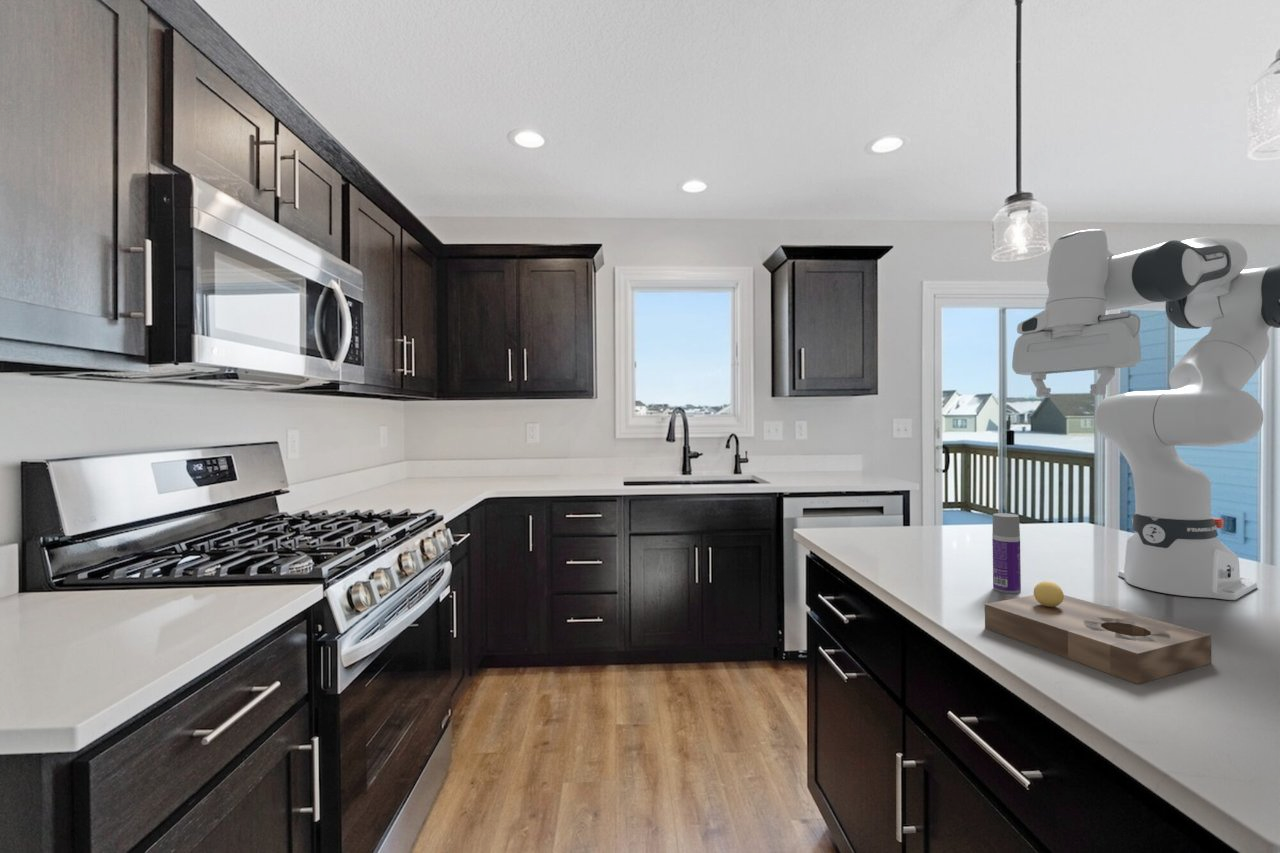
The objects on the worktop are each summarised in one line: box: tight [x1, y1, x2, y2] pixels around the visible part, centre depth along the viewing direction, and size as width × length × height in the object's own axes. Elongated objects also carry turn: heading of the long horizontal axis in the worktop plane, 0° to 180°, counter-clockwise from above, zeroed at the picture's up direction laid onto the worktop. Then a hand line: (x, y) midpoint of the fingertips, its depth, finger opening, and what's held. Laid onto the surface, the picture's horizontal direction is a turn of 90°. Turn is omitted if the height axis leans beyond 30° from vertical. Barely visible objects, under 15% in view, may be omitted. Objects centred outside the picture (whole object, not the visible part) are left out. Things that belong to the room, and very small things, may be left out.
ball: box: [1033, 580, 1065, 607], centre depth 94 cm, size 4×4×4 cm
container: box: [991, 512, 1022, 595], centre depth 116 cm, size 5×5×15 cm
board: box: [984, 594, 1213, 685], centre depth 89 cm, size 16×22×4 cm
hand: (1069, 396), depth 105 cm, fingers open, 8 cm apart
